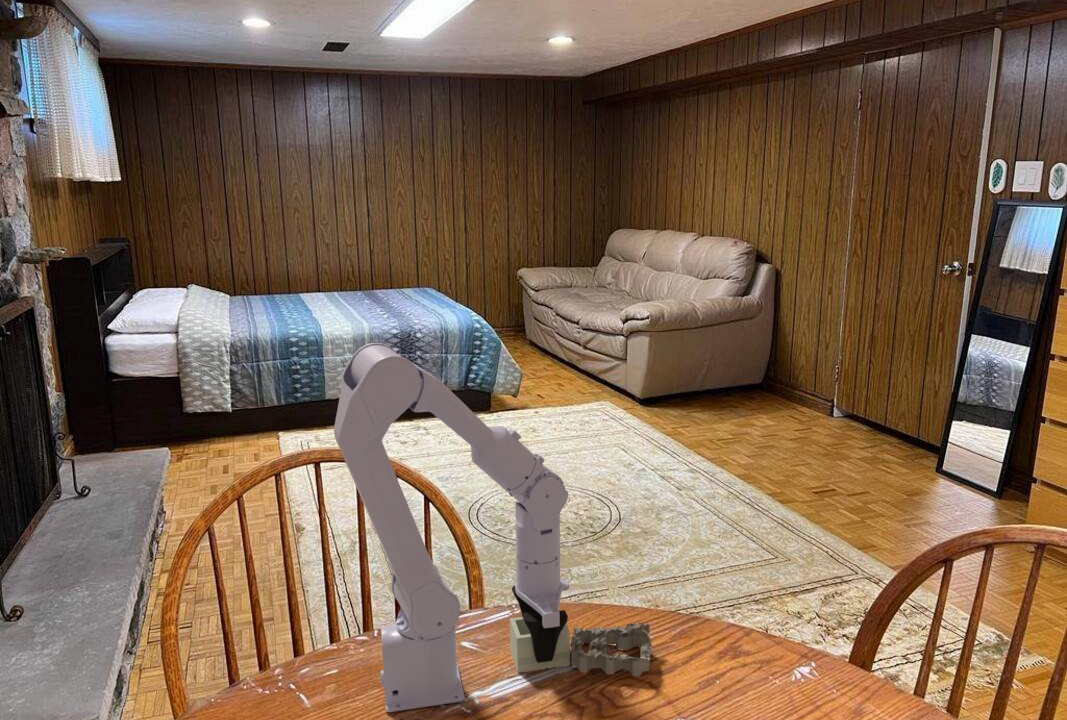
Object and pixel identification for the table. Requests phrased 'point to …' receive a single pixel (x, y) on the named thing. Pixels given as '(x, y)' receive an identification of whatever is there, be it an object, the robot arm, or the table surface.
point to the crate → (525, 653)
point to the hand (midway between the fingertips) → (539, 648)
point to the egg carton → (605, 636)
